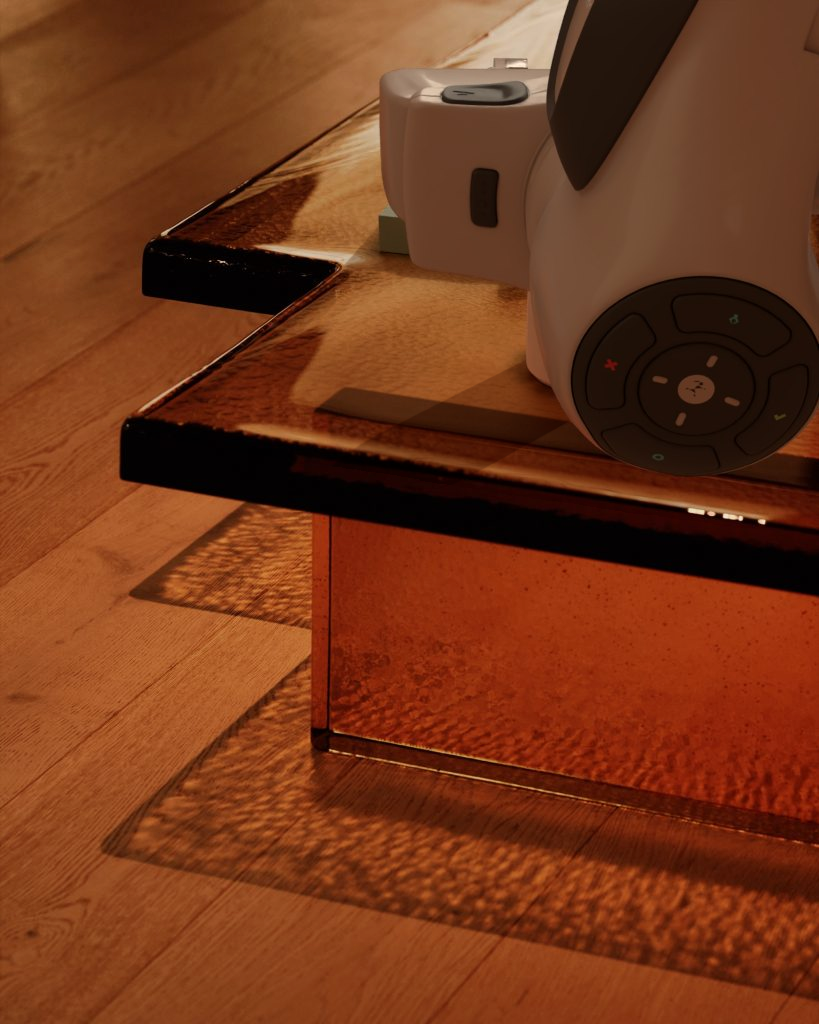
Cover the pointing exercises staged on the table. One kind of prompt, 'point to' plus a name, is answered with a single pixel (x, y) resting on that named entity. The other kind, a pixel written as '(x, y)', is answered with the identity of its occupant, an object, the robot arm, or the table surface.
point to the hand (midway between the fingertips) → (618, 76)
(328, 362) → the table surface
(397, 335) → the table surface
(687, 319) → the robot arm
